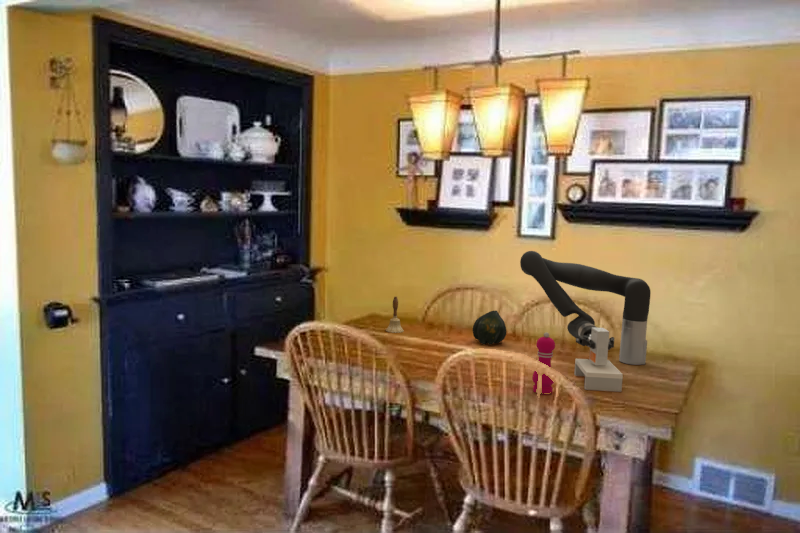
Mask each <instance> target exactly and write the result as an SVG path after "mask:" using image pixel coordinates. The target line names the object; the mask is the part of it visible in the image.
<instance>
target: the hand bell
mask: <svg viewBox="0 0 800 533" xmlns="http://www.w3.org/2000/svg"><path fill="white" fill-rule="evenodd" d="M392 308H393V313H392V314H393V315H392V318H390V320H389V325H388V326H387V328H386V329H385V331H386V332H387V333H391V334H399V333H403V332H404V329H403V327H402V326H401V320H400V318H398V308H399V299H398V296H394V297H393V301H392Z"/></svg>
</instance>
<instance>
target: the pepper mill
mask: <svg viewBox="0 0 800 533" xmlns="http://www.w3.org/2000/svg"><path fill="white" fill-rule="evenodd" d="M555 347H556V343H555V340H554V339H553V338H551V337H550V333H549V332H548V331H547V332H544V333H543V336H541V337H539V338H538V339H537V341H536V349H537V353H536V355H537V356H538V361H540V362H542V363H544V364H546V365H548V366H549V367H551V368H552V358H553V357H554V355H553V354H554V352H553V351H554V350H555ZM537 381H538V374H537V372H536V371H535V370H534V371H533V374H532V382H533V383H534V384H533V386H532V391H533V392H534V393H535V392H536V389H537ZM554 383H555V381H554V382H553V381H552V380H551V379H550V378H549V377H548V376H546V375H545V374H543V375H542V393H543V394H542V395H545V394H544V393H550V392H552V393H553V389H554V388H553V386H552V385H554Z"/></svg>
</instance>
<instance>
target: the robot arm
mask: <svg viewBox="0 0 800 533" xmlns="http://www.w3.org/2000/svg"><path fill="white" fill-rule="evenodd" d="M519 262H520V263H519V264H520V270H521V271H522V272H523V273H524V274H526V275H528V276H531V277H532V278H533V279H534V280H535V281H536V282H537V283H538V284H539V285H540V287H541V289H542V290H543V291H544V293H545V295H546V296H547V298H548V299H549V301H550V303H551V304H552V305H553V306H554V308H555V309H556V310H557V312H559V314H560V315H561V316H562V317H564V318H566V317H569V316H571V315H573V314H576V315H578V316H576V317H575V318H574V319H572V320H571V321H569V323H568V324H567V325H566V326H567V327H566V328H567V332H568V333H569V334H570V336H572V337H574V338H575V343H577V344H579V345H581V347H585V346H586V347H588V348H589V349H590V348H592V349H595V343H594V342H593V341H592V340H591V332H592V327H596V328H598V326H596V322H595V318H593V316H591V315H590V314H588V313H587V312H586V311H584V310H583V309H581V308H580V307H579V306H578V305H577V304H576V302H574V300H573V299H572V297H571V296H569V294H568V292H566V290H565V289H564V288H563V287H562V286H561V284H560V283H562V284H566V285H570V286H572V287H576V288H580V289H584V290H587V291H588V290H589V291H595V292H607V293H612V294H616V295H619V296H621V297H624V303H623V304H624V305H623V311H622V319H621V320H622V321H621V332H620V344H619V345H620V346H619V356H618V357H619V359H618V360H619V362H621V363H623V364H627V365H639V366H640V365H646V359H647V349H648V340H647V339H646V337H647V328H648V318H649V313H650V305H651V304H650V303H651V302H650V301H651V288H650V286H649V284H648V283H647V282H646V281H645V280H644V279H642V278H637V277H630V276H623V275H618V274H613V273H610V272H608V271H605V270H602V269H599V268H596V267H592V266H588V265H585V264H581V263H575V262H573V263H572V262H560V261H559V262H558V261H553V260H550V259H547V258H544V257H543V256H542V255H541V254H540V253H539V252H537V251H535V250H527V251H526V252H524V253H523V254H522V256H521V257H520V261H519ZM612 348H615V337H614V336H611V337H609V343H608V351H610V350H612Z"/></svg>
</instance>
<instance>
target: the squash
mask: <svg viewBox="0 0 800 533" xmlns="http://www.w3.org/2000/svg"><path fill="white" fill-rule="evenodd" d="M471 331H472V335H473V337H474V339H475V340H477V341H479V343H480V344H482V345H483V344H485V345H489V346H491V345H493V344H499V343H501V342H503V341H504V340H505V338H506V336H507V326H506V324H505V321H504V319H503V318H502V316H501V315H500V312H498V310H491V311H488V312H487V313H486V312H485V313H484V314H482V315H481V316H479V317H478V318H477V319H475V321H474V323H473V326H472V330H471Z"/></svg>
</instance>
